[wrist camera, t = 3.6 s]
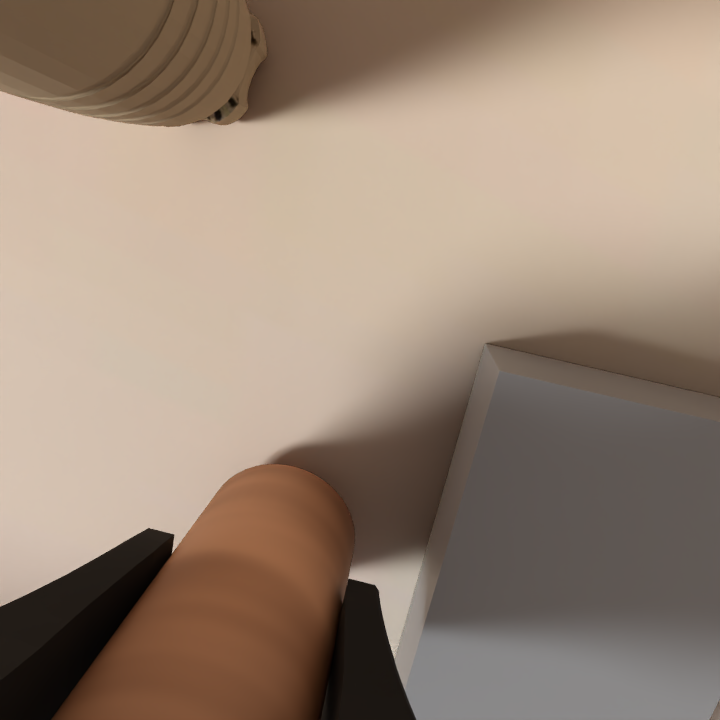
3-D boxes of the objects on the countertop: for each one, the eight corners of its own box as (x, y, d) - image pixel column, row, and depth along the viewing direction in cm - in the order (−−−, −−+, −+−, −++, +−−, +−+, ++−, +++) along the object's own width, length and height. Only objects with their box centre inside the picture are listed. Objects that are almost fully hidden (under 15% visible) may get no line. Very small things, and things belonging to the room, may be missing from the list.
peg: (338, 612, 15) (254, 1030, 7) (198, 577, 15) (-27, 948, 7) (369, 485, 14) (309, 815, 6) (218, 448, 14) (-22, 725, 6)
